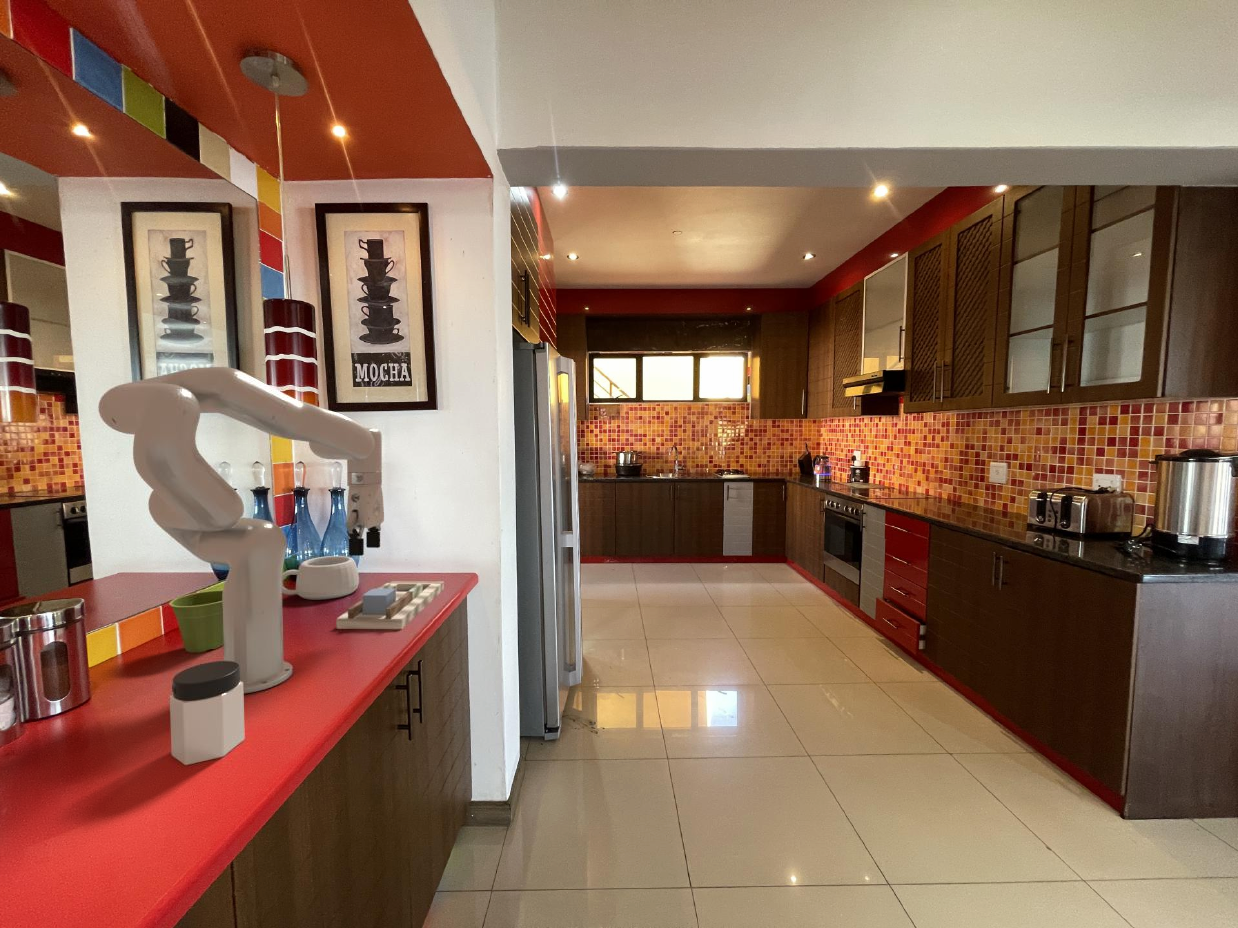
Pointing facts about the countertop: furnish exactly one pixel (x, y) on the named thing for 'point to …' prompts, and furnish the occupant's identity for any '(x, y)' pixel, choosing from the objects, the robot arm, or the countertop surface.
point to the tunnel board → (393, 606)
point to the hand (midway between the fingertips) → (365, 550)
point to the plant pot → (200, 620)
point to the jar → (206, 711)
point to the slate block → (378, 601)
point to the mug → (324, 578)
